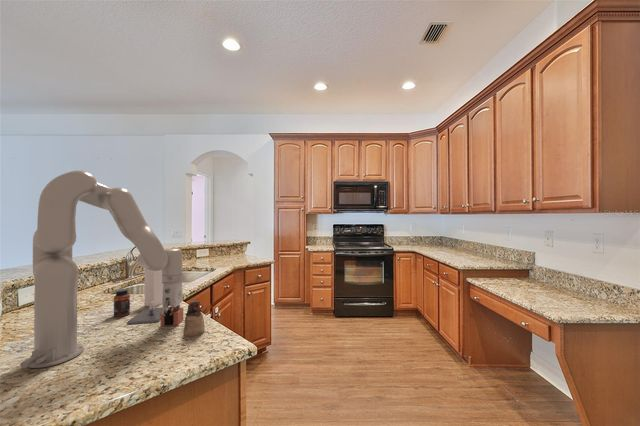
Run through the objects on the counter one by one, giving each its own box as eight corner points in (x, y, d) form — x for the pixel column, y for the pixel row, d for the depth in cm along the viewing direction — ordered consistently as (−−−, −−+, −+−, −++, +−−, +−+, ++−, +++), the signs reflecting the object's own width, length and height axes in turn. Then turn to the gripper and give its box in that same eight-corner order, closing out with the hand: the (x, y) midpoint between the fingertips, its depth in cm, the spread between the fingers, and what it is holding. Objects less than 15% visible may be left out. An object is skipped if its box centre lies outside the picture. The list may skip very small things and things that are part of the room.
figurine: (197, 327, 103) (197, 297, 103) (208, 331, 100) (208, 299, 100) (179, 334, 97) (179, 302, 97) (190, 338, 93) (190, 305, 94)
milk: (155, 302, 135) (155, 259, 136) (164, 303, 133) (164, 260, 134) (144, 305, 129) (144, 261, 130) (153, 306, 128) (153, 262, 128)
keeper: (158, 321, 109) (158, 306, 109) (127, 324, 107) (127, 309, 107) (173, 308, 125) (173, 295, 125) (145, 310, 123) (145, 297, 123)
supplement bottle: (133, 312, 120) (133, 288, 120) (122, 317, 114) (122, 292, 114) (121, 312, 120) (121, 288, 121) (110, 317, 115) (110, 291, 115)
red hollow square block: (177, 325, 105) (177, 312, 106) (160, 326, 104) (160, 314, 104) (183, 318, 112) (183, 307, 112) (167, 320, 111) (167, 308, 111)
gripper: (174, 283, 100) (174, 329, 100) (188, 273, 118) (188, 313, 117) (152, 284, 99) (153, 331, 99) (170, 274, 116) (170, 314, 116)
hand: (172, 320), depth 108 cm, fingers closed on red hollow square block, 6 cm apart
